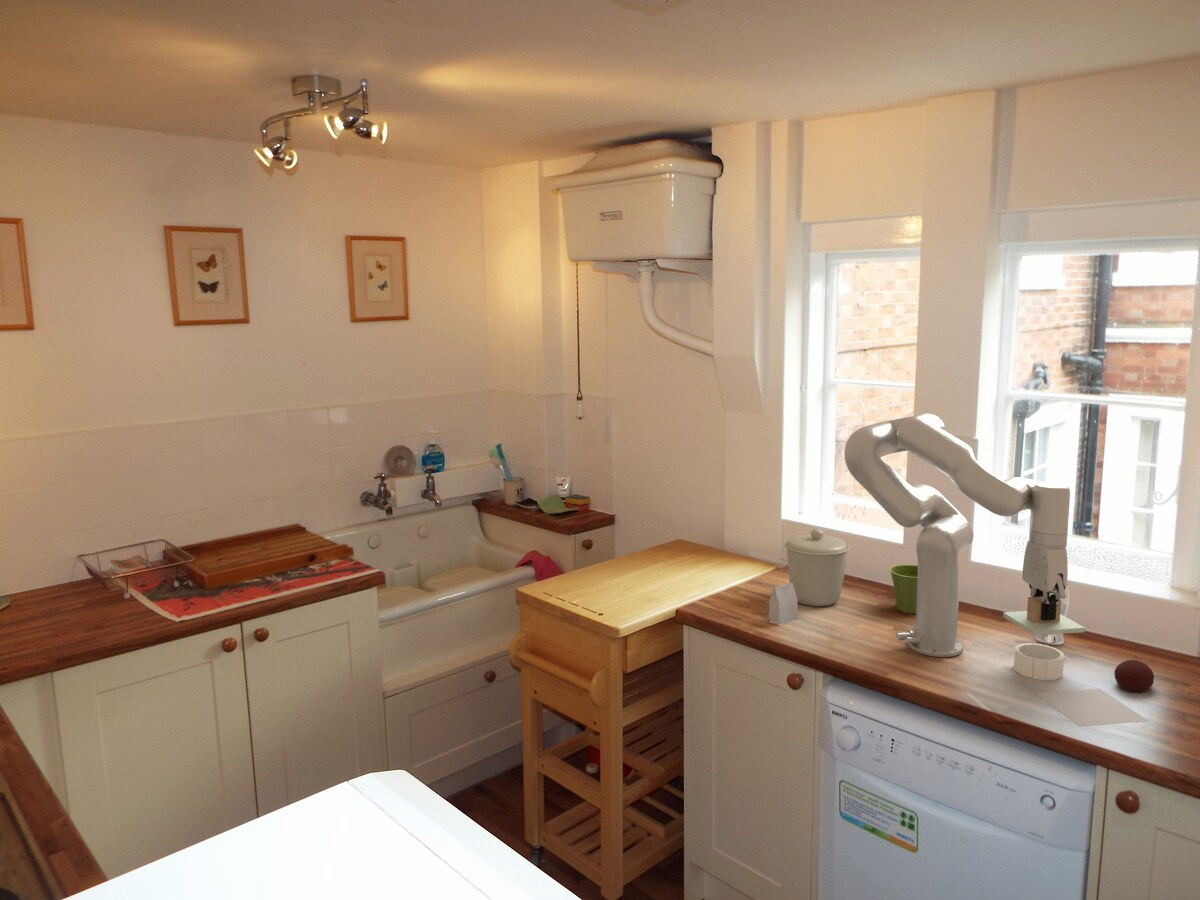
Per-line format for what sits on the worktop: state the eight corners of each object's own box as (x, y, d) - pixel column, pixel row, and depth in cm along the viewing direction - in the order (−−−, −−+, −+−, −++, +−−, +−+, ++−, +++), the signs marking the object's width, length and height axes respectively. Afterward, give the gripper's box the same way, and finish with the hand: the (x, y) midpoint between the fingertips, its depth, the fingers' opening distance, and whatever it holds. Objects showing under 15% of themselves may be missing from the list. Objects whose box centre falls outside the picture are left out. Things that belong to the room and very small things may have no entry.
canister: (856, 596, 253) (858, 525, 249) (836, 616, 238) (839, 540, 234) (795, 586, 262) (797, 518, 259) (773, 604, 247) (774, 532, 244)
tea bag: (796, 620, 235) (797, 584, 234) (778, 626, 232) (779, 589, 230) (786, 616, 238) (787, 581, 237) (768, 621, 235) (769, 586, 233)
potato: (1107, 690, 191) (1109, 664, 190) (1122, 676, 198) (1124, 650, 197) (1145, 701, 186) (1148, 674, 185) (1159, 686, 193) (1161, 660, 192)
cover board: (1033, 635, 192) (1035, 609, 191) (1002, 616, 204) (1004, 591, 203) (1085, 632, 193) (1086, 606, 192) (1051, 613, 205) (1053, 588, 204)
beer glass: (1069, 647, 215) (1074, 588, 212) (1038, 645, 216) (1042, 586, 214) (1060, 636, 222) (1065, 579, 219) (1030, 634, 223) (1035, 577, 220)
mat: (1078, 728, 175) (1079, 725, 175) (1034, 694, 190) (1034, 692, 190) (1148, 723, 177) (1148, 720, 176) (1099, 690, 191) (1099, 688, 191)
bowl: (1030, 683, 195) (1031, 661, 195) (1005, 664, 205) (1006, 644, 204) (1071, 680, 196) (1073, 659, 196) (1044, 662, 206) (1046, 642, 205)
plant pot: (922, 601, 248) (924, 563, 246) (940, 616, 236) (942, 576, 234) (881, 602, 247) (882, 564, 246) (896, 618, 236) (898, 577, 234)
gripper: (1011, 529, 203) (1006, 605, 206) (1054, 549, 187) (1049, 631, 190) (1041, 528, 204) (1037, 604, 207) (1087, 547, 188) (1082, 629, 191)
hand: (1043, 616), depth 198 cm, fingers closed on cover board, 3 cm apart
